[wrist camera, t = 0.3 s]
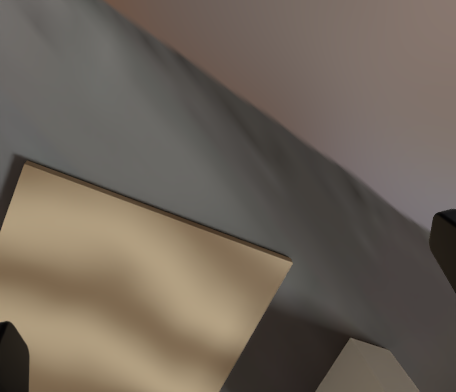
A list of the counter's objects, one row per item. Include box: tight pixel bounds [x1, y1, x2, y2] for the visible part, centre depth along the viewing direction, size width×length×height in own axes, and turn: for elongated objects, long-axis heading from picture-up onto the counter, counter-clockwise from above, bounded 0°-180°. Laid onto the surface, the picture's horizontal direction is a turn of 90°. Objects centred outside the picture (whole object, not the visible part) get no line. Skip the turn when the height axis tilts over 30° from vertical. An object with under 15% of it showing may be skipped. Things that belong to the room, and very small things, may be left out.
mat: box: [0, 160, 293, 392], centre depth 26 cm, size 14×16×1 cm
